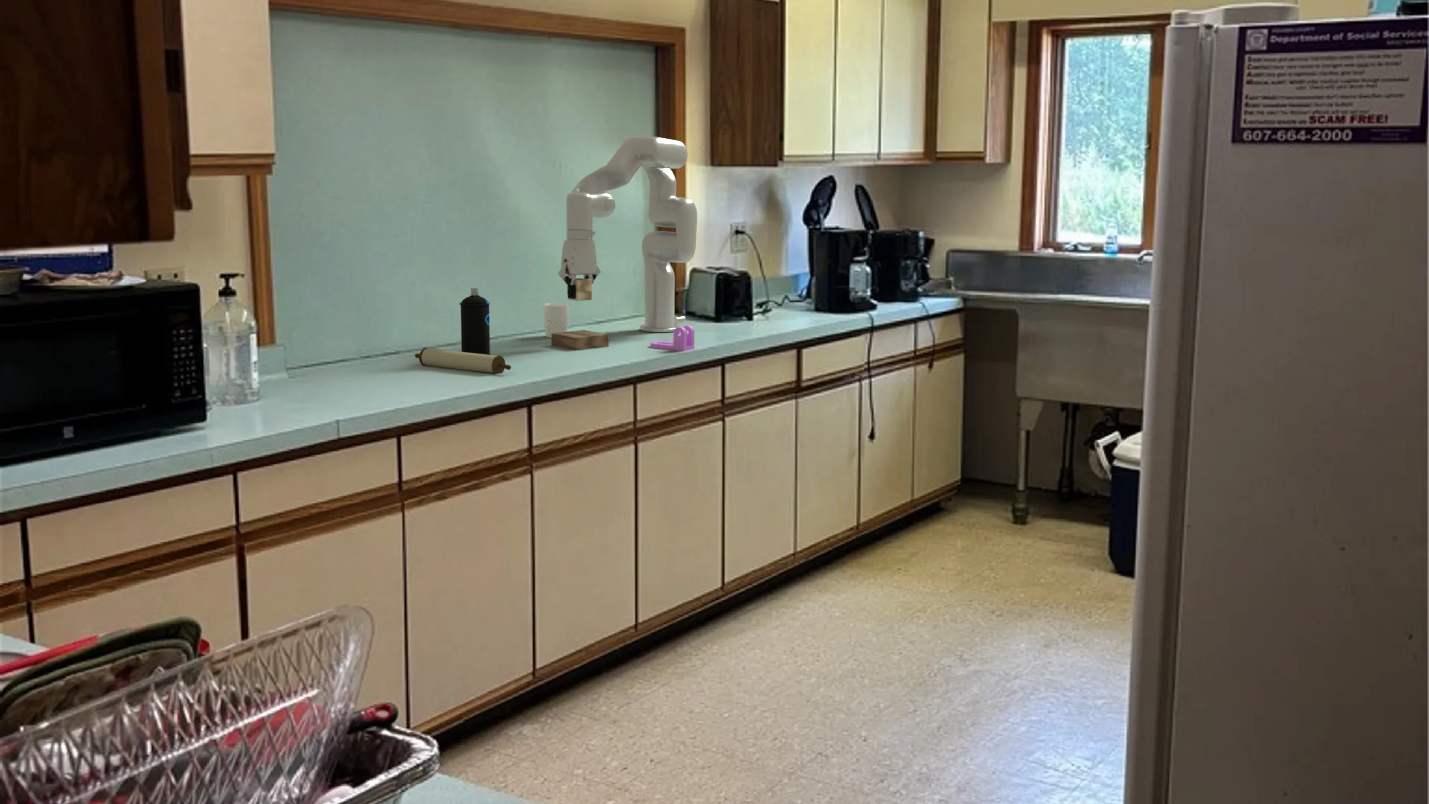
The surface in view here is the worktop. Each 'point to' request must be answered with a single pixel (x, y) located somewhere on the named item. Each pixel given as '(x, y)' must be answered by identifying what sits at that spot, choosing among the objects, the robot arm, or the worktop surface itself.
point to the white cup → (555, 318)
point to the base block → (580, 340)
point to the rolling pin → (462, 360)
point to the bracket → (678, 340)
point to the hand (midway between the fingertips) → (579, 297)
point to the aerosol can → (475, 324)
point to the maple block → (583, 289)
